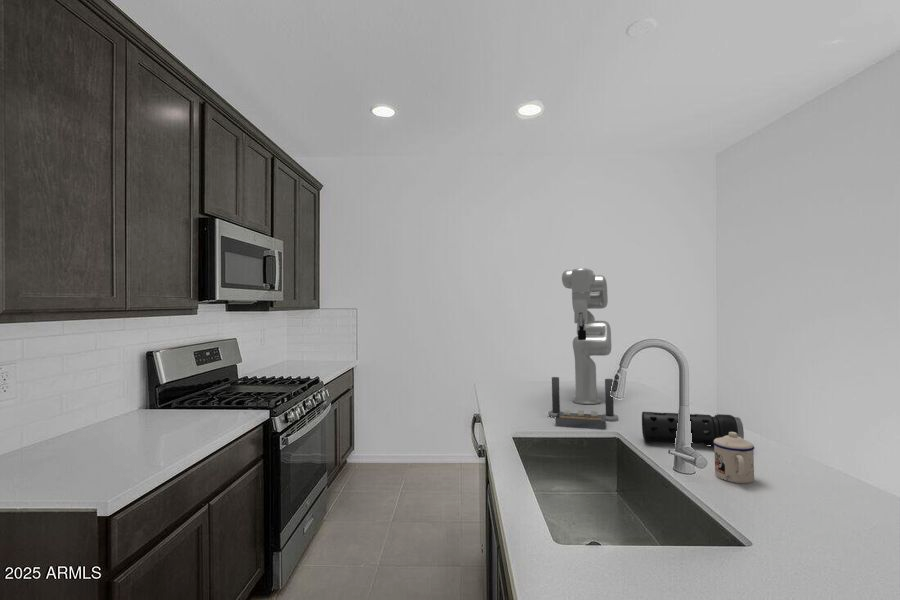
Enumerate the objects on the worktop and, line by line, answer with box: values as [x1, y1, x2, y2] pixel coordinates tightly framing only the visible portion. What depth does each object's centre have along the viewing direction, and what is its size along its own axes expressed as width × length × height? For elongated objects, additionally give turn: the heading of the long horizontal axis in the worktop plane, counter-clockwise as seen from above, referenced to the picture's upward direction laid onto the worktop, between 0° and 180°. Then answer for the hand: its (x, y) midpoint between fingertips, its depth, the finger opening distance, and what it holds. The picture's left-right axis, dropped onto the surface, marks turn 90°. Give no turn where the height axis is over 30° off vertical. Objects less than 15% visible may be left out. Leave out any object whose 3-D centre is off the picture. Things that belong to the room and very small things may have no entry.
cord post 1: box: [547, 376, 564, 418], centre depth 186 cm, size 6×6×16 cm
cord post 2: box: [601, 378, 619, 422], centre depth 179 cm, size 6×6×16 cm
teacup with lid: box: [713, 432, 755, 484], centre depth 115 cm, size 12×9×12 cm
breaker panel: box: [554, 409, 607, 430], centre depth 172 cm, size 10×18×5 cm, turn 70°
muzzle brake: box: [641, 411, 745, 446], centre depth 145 cm, size 10×28×10 cm, turn 72°
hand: (582, 339), depth 193 cm, fingers closed
